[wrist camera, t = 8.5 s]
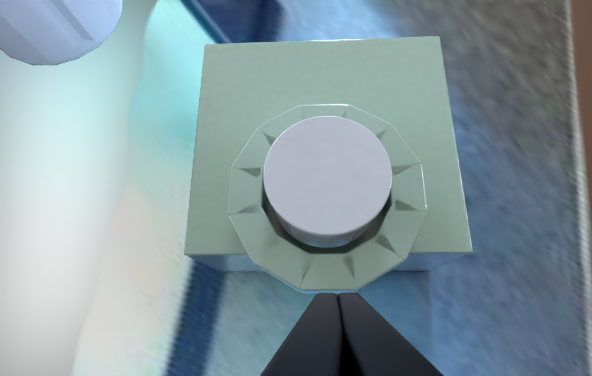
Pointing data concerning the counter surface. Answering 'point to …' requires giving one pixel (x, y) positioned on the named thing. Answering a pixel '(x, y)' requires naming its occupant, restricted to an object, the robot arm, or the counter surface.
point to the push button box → (312, 103)
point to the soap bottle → (55, 28)
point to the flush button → (327, 180)
